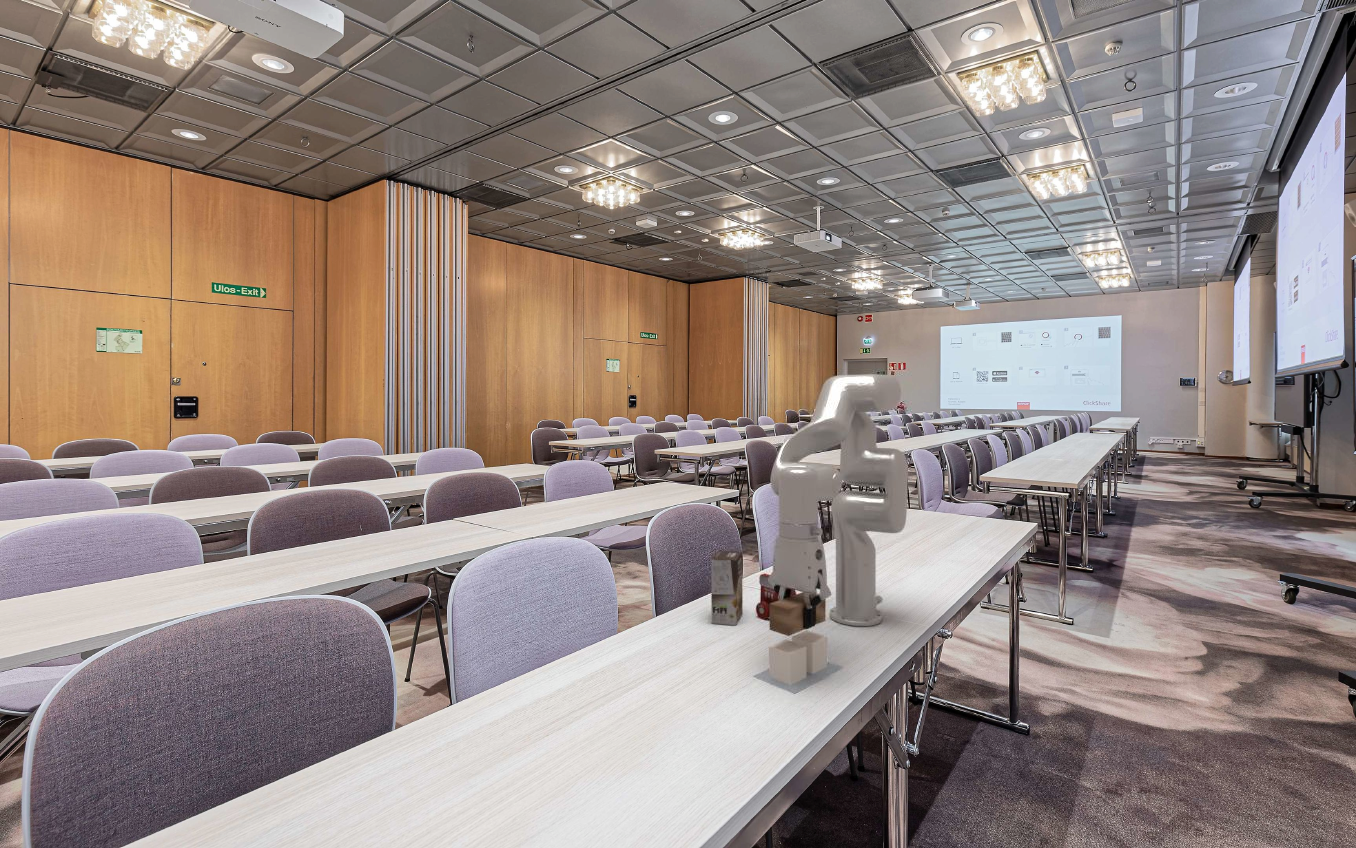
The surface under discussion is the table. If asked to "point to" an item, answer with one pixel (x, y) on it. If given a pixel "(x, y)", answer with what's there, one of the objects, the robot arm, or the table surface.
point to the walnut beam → (792, 614)
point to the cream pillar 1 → (787, 662)
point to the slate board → (802, 683)
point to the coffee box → (726, 587)
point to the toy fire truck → (766, 597)
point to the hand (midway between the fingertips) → (798, 622)
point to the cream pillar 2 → (813, 650)
